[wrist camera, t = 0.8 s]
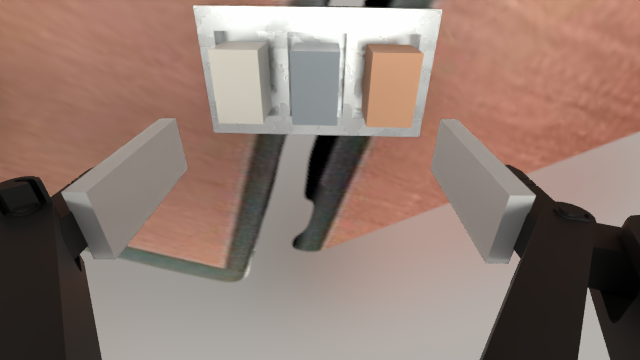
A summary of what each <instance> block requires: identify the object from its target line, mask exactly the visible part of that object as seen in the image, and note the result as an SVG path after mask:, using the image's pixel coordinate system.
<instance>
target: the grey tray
mask: <svg viewBox="0 0 640 360" xmlns="http://www.w3.org/2000/svg"><path fill="white" fill-rule="evenodd" d="M193 9H194V15H195V21H196V27H197V33H198V39H199V45H200V51H201V57H202V63H203V69H204V75H205V81H206V87H207V93H208V99H209V105H210V111H211V117H212V123H213V129H214V133H255V134H304V135H306V134H307V135H351V136H398V137H419V135H420V129H421V124H422V118H423V113H424V108H425V102H426V97H427V91H428V86H429V80H430V75H431V70H432V64H433V59H434V53H435V48H436V42H437V37H438V32H439V26H440V21H441V15H442V9H435V8H412V7H349V6H287V5H225V4H205V5H193ZM224 41H239V42H268V55H269V71H270V86H271V101H272V108H271V110H270V112H269V114H268V116H267V118H266V120H265V122H264V124H229V123H219V121H218V114H217V108H216V102H215V95H214V89H213V82H212V76H211V69H210V63H209V56H208V50H207V49H209V48H211V47H214V46H216V45H218V44H220V43H222V42H224ZM295 42H296V43H338V44H339V48H340V67H339V91H338V114H337V126H326V125H292V100H291V69H290V50H291V48H292V47H293V45H294V44H295ZM367 44H399V45H411V46H413V47H414V48H416V49H418V50H419V51H421V52H422V53H424V57H423V62H422V68H421V74H420V80H419V86H418V92H417V98H416V104H415V110H414V116H413V122H412V128H395V127H366V124H365V121H364V117H363V114H362V110H361V106H362V94H363V82H364V69H365V57H366V45H367Z"/></svg>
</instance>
